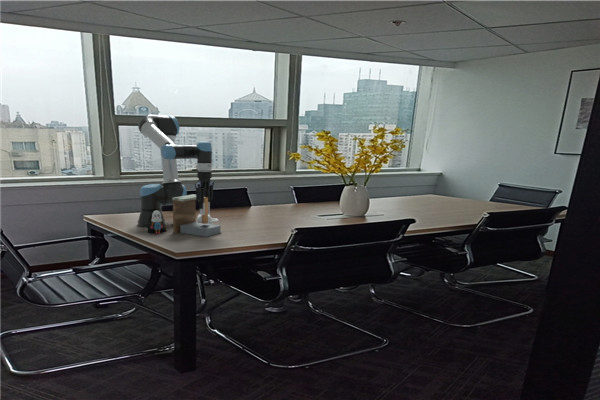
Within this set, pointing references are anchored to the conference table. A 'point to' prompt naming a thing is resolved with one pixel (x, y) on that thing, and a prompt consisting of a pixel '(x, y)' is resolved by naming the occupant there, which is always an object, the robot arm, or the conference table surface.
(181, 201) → the panel
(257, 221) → the conference table surface
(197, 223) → the socket board
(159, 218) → the figurine
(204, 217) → the peg
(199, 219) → the mug
